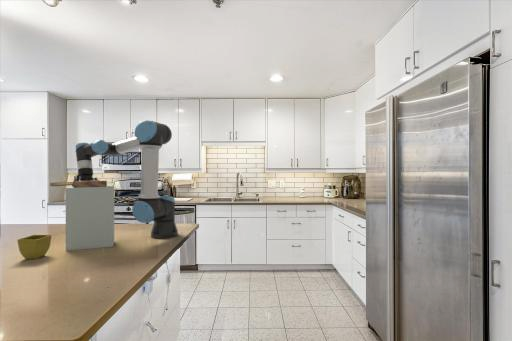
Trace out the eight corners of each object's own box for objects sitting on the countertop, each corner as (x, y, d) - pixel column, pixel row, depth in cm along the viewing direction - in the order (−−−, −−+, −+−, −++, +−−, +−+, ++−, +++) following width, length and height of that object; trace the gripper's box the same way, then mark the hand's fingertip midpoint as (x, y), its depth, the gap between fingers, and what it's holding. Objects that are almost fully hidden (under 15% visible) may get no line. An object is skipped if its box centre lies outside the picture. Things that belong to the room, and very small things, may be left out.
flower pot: (36, 260, 120) (36, 239, 120) (16, 260, 121) (16, 239, 121) (52, 254, 129) (52, 234, 129) (33, 254, 129) (33, 234, 129)
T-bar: (110, 184, 162) (110, 179, 162) (105, 186, 142) (105, 180, 142) (81, 185, 157) (81, 180, 157) (73, 187, 137) (73, 181, 137)
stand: (114, 241, 152) (114, 185, 152) (112, 246, 143) (112, 186, 143) (70, 245, 144) (70, 186, 144) (65, 250, 135) (65, 187, 135)
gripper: (97, 173, 178) (100, 206, 174) (60, 167, 155) (63, 205, 150) (106, 170, 177) (110, 203, 172) (71, 163, 153) (75, 201, 149)
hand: (88, 204), depth 161 cm, fingers open, 13 cm apart
